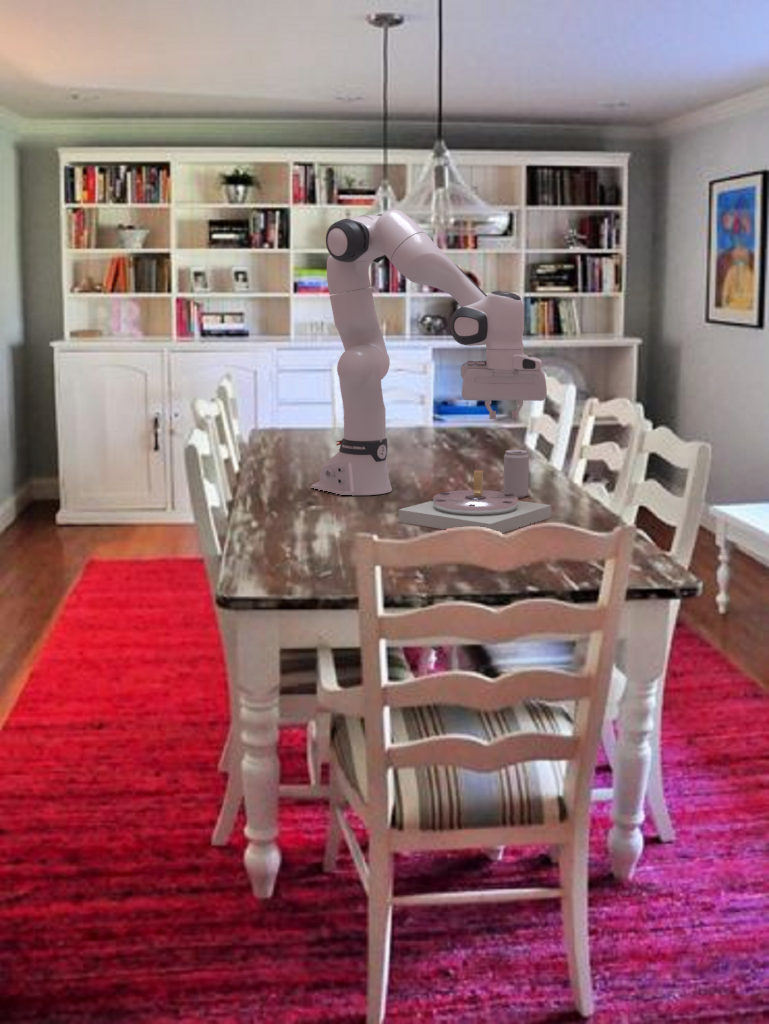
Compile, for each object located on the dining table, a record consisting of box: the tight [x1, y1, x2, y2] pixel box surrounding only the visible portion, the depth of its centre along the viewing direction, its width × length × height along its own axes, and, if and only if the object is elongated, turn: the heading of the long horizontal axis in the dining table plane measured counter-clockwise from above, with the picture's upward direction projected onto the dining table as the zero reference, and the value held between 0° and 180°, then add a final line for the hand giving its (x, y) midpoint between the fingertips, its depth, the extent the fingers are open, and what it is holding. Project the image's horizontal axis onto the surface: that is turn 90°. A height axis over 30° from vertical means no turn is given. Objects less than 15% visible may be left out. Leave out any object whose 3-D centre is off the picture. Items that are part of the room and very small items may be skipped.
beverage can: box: [503, 449, 530, 499], centre depth 314 cm, size 6×6×12 cm
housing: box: [398, 499, 552, 534], centre depth 287 cm, size 26×26×3 cm
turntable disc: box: [432, 469, 519, 515], centre depth 286 cm, size 20×20×7 cm
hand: (503, 419), depth 289 cm, fingers open, 4 cm apart
